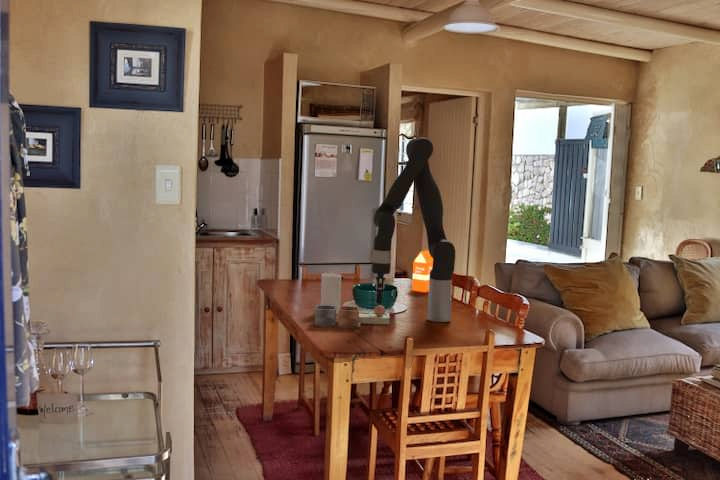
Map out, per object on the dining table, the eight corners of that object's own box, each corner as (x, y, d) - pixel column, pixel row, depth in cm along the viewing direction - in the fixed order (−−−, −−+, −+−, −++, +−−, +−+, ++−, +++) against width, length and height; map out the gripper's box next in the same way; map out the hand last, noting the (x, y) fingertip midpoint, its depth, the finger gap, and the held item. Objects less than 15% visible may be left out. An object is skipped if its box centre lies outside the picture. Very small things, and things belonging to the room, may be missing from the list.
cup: (337, 315, 286) (338, 277, 284) (318, 313, 287) (319, 275, 286) (341, 311, 294) (343, 274, 292) (323, 309, 295) (324, 272, 294)
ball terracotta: (384, 315, 280) (385, 304, 280) (385, 317, 276) (385, 306, 275) (373, 314, 280) (374, 303, 280) (373, 317, 276) (374, 306, 275)
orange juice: (433, 289, 351) (435, 250, 349) (425, 292, 344) (427, 252, 341) (419, 287, 355) (421, 249, 353) (411, 290, 348) (413, 250, 346)
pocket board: (388, 318, 283) (389, 312, 283) (389, 324, 274) (389, 318, 273) (352, 317, 283) (352, 311, 283) (351, 322, 274) (351, 316, 274)
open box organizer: (360, 323, 274) (360, 306, 273) (359, 328, 265) (360, 311, 264) (314, 321, 274) (315, 304, 273) (312, 326, 265) (313, 309, 264)
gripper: (391, 264, 269) (388, 305, 270) (390, 259, 283) (387, 298, 285) (372, 263, 269) (369, 304, 270) (372, 258, 283) (369, 297, 285)
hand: (378, 301), depth 278 cm, fingers open, 8 cm apart
